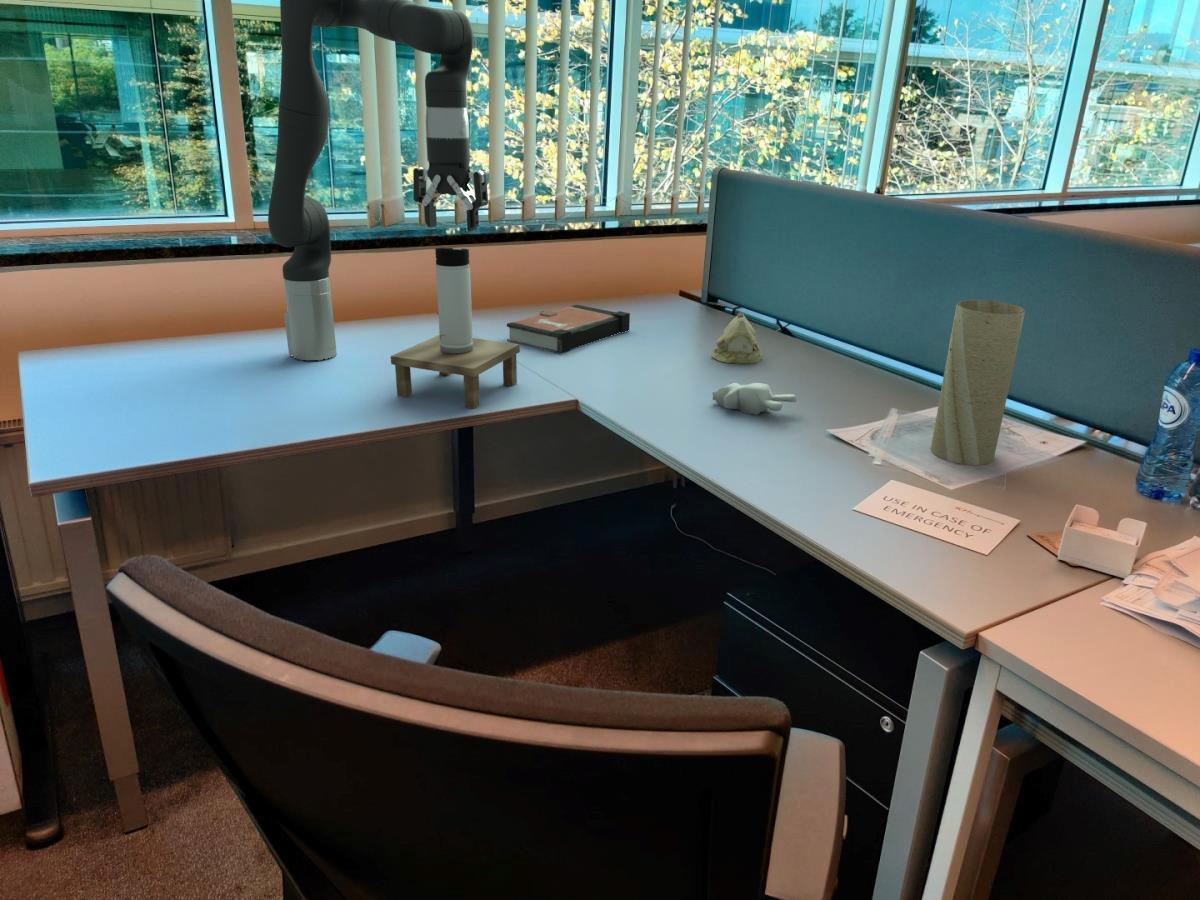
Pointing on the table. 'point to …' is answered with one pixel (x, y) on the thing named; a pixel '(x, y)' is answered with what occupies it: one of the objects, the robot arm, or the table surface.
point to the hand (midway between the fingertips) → (451, 228)
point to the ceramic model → (738, 343)
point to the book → (568, 328)
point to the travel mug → (454, 300)
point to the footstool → (457, 364)
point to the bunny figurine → (750, 398)
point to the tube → (976, 380)
